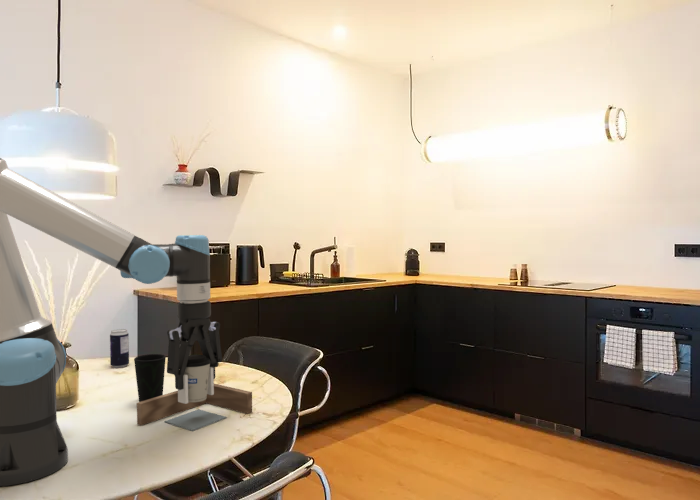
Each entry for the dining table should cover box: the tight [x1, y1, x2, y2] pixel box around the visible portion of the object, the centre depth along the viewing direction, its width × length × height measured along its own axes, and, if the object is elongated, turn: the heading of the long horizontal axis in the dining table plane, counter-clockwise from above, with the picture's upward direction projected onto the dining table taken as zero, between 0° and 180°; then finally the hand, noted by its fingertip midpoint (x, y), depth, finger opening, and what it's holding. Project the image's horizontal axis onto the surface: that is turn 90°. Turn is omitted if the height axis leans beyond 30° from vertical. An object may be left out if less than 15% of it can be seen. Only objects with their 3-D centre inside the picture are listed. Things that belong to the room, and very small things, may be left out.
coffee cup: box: [185, 354, 211, 402], centre depth 124 cm, size 7×7×10 cm
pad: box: [164, 408, 228, 432], centre depth 125 cm, size 10×10×1 cm
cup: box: [133, 353, 166, 402], centre depth 137 cm, size 8×8×12 cm
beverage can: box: [109, 328, 130, 369], centre depth 176 cm, size 6×6×12 cm
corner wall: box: [136, 383, 253, 427], centre depth 126 cm, size 20×16×5 cm
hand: (196, 397), depth 125 cm, fingers closed on coffee cup, 7 cm apart
